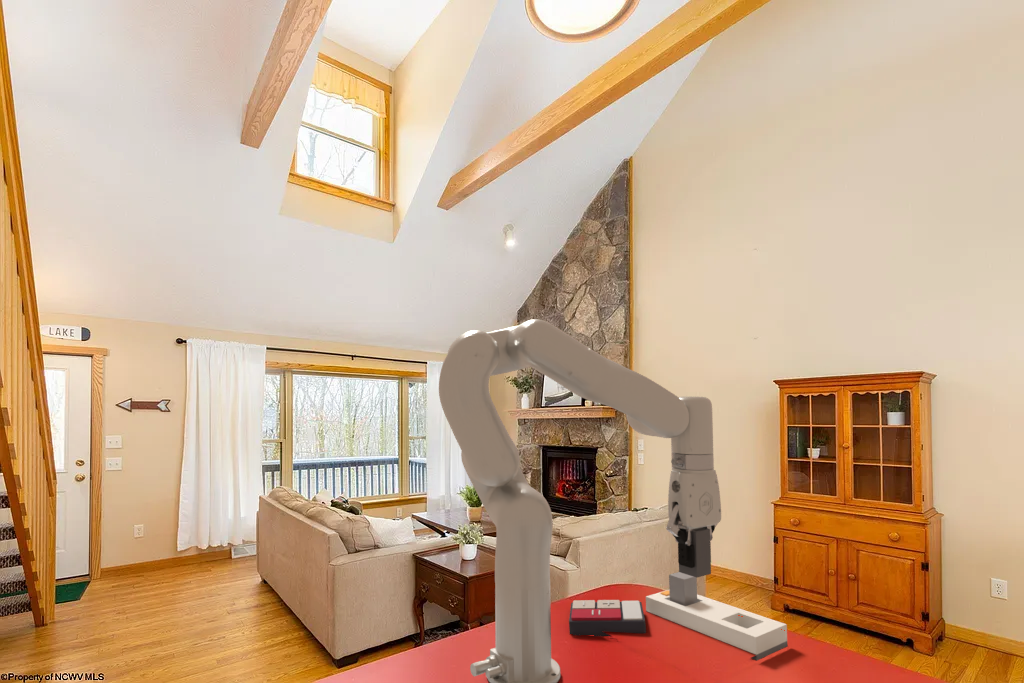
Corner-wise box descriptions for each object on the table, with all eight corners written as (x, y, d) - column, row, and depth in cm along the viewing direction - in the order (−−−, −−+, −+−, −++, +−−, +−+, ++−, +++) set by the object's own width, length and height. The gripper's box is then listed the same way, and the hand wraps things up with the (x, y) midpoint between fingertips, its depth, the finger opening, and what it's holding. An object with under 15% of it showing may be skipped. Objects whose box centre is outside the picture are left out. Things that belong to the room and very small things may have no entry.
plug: (697, 577, 105) (696, 531, 106) (678, 571, 108) (678, 527, 109) (711, 573, 107) (709, 528, 108) (692, 568, 110) (691, 524, 111)
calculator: (570, 598, 128) (641, 597, 126) (572, 618, 127) (642, 618, 125) (568, 617, 117) (645, 617, 115) (569, 640, 116) (646, 639, 114)
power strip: (756, 660, 105) (755, 635, 105) (646, 615, 126) (645, 595, 126) (787, 646, 110) (786, 622, 111) (676, 605, 132) (676, 585, 132)
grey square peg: (685, 619, 121) (684, 579, 122) (670, 613, 124) (668, 574, 125) (697, 615, 123) (696, 575, 124) (682, 609, 127) (681, 571, 127)
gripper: (679, 468, 101) (681, 577, 100) (737, 462, 111) (740, 561, 109) (646, 463, 108) (647, 566, 106) (703, 458, 117) (706, 552, 116)
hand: (694, 562), depth 108 cm, fingers closed on plug, 4 cm apart
